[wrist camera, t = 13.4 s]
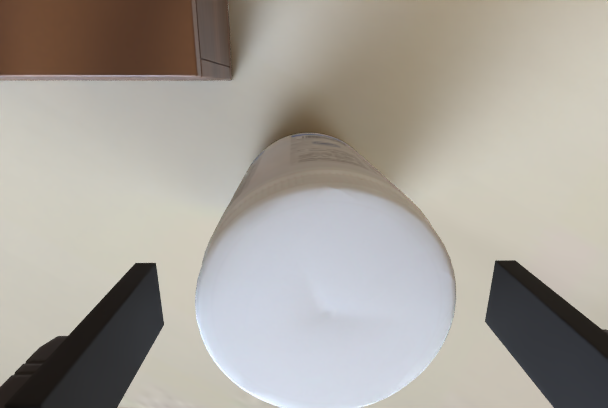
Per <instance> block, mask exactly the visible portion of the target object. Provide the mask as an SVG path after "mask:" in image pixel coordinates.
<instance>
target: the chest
mask: <svg viewBox="0 0 608 408" xmlns="http://www.w3.org/2000/svg"><path fill="white" fill-rule="evenodd" d="M195 2H196V14H197V27H198V40H199V52H200V65H201V77H0V80H232V66H231V48H230V30H229V12H228V0H195Z"/></svg>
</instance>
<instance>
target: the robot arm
mask: <svg viewBox="0 0 608 408" xmlns="http://www.w3.org/2000/svg"><path fill="white" fill-rule="evenodd" d="M485 322H486V323H487V325H488V326H489V327H490V328H491V330H492V331H493V332H494V333H495V335H496V336H497V337H498V338H499V340H500V341H501V342H502V343H503V345H504V346H505V347H506V348H507V350H508V351H509V352H510V353H511V355H512V356H513V357H514V358H515V360H516V361H517V362H518V363H519V365H520V366H521V367H522V368H523V370H524V371H525V372H526V373H527V375H528V376H529V377H530V378H531V380H532V381H533V382H534V383H535V385H536V386H537V387H538V388H539V390H540V391H541V392H542V393H543V395H544V396H545V397H546V398H547V400H548V401H549V402H550V403H551V405H552V406H553V407H554V408H608V330H602V329H601V328H599V327H598V326H597V325H596V324H594V323H593V322H592V321H590V320H589V319H588V318H587V317H585V316H584V315H583V314H582V313H580V312H579V311H578V310H577V309H575V308H574V307H573V306H572V305H570V304H569V303H568V302H567V301H565V300H564V299H563V298H562V297H560V296H559V295H558V294H557V293H555V292H554V291H553V290H551V289H550V288H549V287H548V286H546V285H545V284H544V283H543V282H541V281H540V280H539V279H538V278H536V277H535V276H534V275H533V274H531V273H530V272H529V271H528V270H526V269H525V268H524V267H523V266H521V265H520V264H519V263H518V262H516V261H495V266H494V272H493V278H492V284H491V290H490V296H489V302H488V307H487V313H486V319H485ZM163 325H164V321H163V314H162V306H161V299H160V291H159V284H158V276H157V269H156V263H135V264H134V266H133V267H132V268H131V269H130V270H129V271H128V272H127V273H126V274H125V275H124V276H123V277H122V278H121V280H120V281H119V282H118V283H117V284H116V285H115V286H114V287H113V288H112V289H111V290H110V291H109V293H108V294H107V295H106V296H105V297H104V298H103V299H102V300H101V301H100V302H99V303H98V304H97V305H96V307H95V308H94V309H93V310H92V311H91V312H90V313H89V314H88V315H87V316H86V317H85V318H84V320H83V321H82V322H81V323H80V324H79V325H78V326H77V327H76V328H75V329H74V330H73V331H72V332H71V334H70V335H69V336H57V337H56V338H54V339H52V340H51V341H49V342H48V343H46V344H45V345H43V346H41V347H40V348H39V349H38V350H37V351H36V352H35V353H34V354H33V355H32V356H31V357H30V358H29V359H28V360H27V361H26V363H25V364H23V365H22V366H21V367H20V368H19V369H18V370H17V371H16V372H15V374H14V375H12V376H11V377H10V378H9V379H8V380H7V381H6V382H5V383H4V384H3V385H2V386H1V387H0V408H117V407H118V405H119V403H120V401H121V400H122V398H123V396H124V394H125V393H126V391H127V389H128V387H129V385H130V384H131V382H132V380H133V378H134V377H135V375H136V373H137V371H138V370H139V368H140V366H141V364H142V363H143V361H144V359H145V357H146V355H147V354H148V352H149V350H150V348H151V347H152V345H153V343H154V341H155V340H156V338H157V336H158V334H159V332H160V331H161V329H162V327H163Z"/></svg>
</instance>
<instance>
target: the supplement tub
mask: <svg viewBox="0 0 608 408" xmlns="http://www.w3.org/2000/svg"><path fill="white" fill-rule="evenodd" d="M455 304H456V282H455V276H454V270H453V267H452V263H451V260H450V257H449V255H448V252H447V250H446V248H445V246H444V244H443V242H442V241H441V239H440V237H439V236H438V235H437V233H436V232H435V230H434V229H433V227H432V225H431V224H430V222H429V221H428V219H427V218H426V217H425V215H424V214H423V213H422V211H421V210H420V209H419V208H418V207H417V206H416V205H415V204H414V203H413V202H412V201H411V200H410V199H409V198H408V197H407V196H406V195H404V194H403V192H401V191H400V190H399V189H398V188H397V187H396V186H395V185H394V184H393V183H392V182H390V181H389V180H388V179H387V178H386V177H385V176H384V175H382V174H381V173H380V172H379V171H378V170H377V169H376V168H375V167H373V166H372V165H371V164H370V163H369V162H368V161H367V160H366V159H364V158H363V157H362V156H361V155H360V154H359V153H358V152H356V151H355V150H354V149H353V148H352V147H350V146H349V145H347V144H346V143H344V142H343V141H341V140H339V139H337V138H335V137H332V136H328V135H324V134H319V133H300V134H294V135H290V136H287V137H284V138H282V139H280V140H278V141H276V142H274V143H273V144H271V145H270V146H268V147H267V148H266V149H265V150H263V151H262V152H261V153H260V154H259V155H258V156H257V158H256V159H255V160H254V162H253V163H252V164H251V166H250V167H249V169H248V171H247V172H246V174H245V176H244V178H243V180H242V182H241V183H240V185H239V187H238V189H237V191H236V192H235V194H234V196H233V198H232V200H231V201H230V203H229V205H228V207H227V209H226V210H225V212H224V214H223V216H222V217H221V219H220V221H219V223H218V225H217V227H216V229H215V231H214V233H213V235H212V237H211V239H210V241H209V243H208V246H207V248H206V251H205V254H204V258H203V262H202V267H201V270H200V273H199V277H198V281H197V288H196V299H195V306H196V317H197V322H198V326H199V330H200V333H201V336H202V339H203V342H204V344H205V346H206V348H207V350H208V352H209V353H210V355H211V357H212V358H213V360H214V361H215V363H216V364H217V365H218V367H219V368H220V369H221V370H222V371H223V372H224V374H225V375H226V376H227V377H229V378H230V379H231V380H232V381H233V382H234V383H235V384H237V385H238V386H239V387H240V388H242V389H243V390H245V391H246V392H248V393H249V394H251V395H253V396H255V397H257V398H259V399H261V400H263V401H265V402H267V403H270V404H272V405H275V406H278V407H282V408H361V407H364V406H367V405H370V404H373V403H375V402H378V401H380V400H383V399H385V398H387V397H389V396H391V395H392V394H394V393H396V392H398V391H399V390H401V389H402V388H403V387H405V386H406V385H408V384H409V383H410V382H412V381H413V380H414V379H415V378H417V377H418V376H419V375H420V374H421V373H422V372H423V371H424V370H425V369H426V368H427V366H428V365H429V364H430V363H431V361H432V360H433V359H434V357H435V356H436V354H437V353H438V352H439V350H440V349H441V347H442V345H443V343H444V341H445V339H446V337H447V335H448V332H449V330H450V327H451V324H452V320H453V317H454V311H455Z"/></svg>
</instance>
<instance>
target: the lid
mask: <svg viewBox="0 0 608 408" xmlns="http://www.w3.org/2000/svg"><path fill="white" fill-rule="evenodd" d="M0 77H201V65H200V52H199V40H198V27H197V14H196V2H195V0H0Z"/></svg>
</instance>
